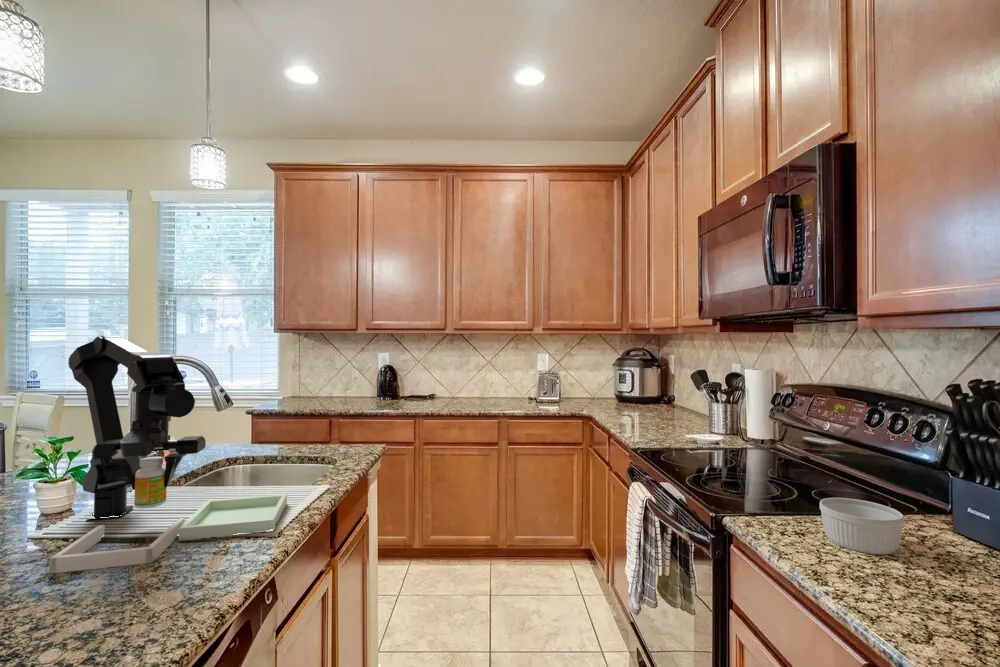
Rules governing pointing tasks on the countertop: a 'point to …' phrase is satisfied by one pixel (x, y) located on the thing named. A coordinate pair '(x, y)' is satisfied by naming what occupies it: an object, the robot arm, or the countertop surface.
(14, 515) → the countertop surface
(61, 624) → the countertop surface
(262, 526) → the tray
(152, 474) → the supplement bottle
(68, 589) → the countertop surface
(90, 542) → the bay
